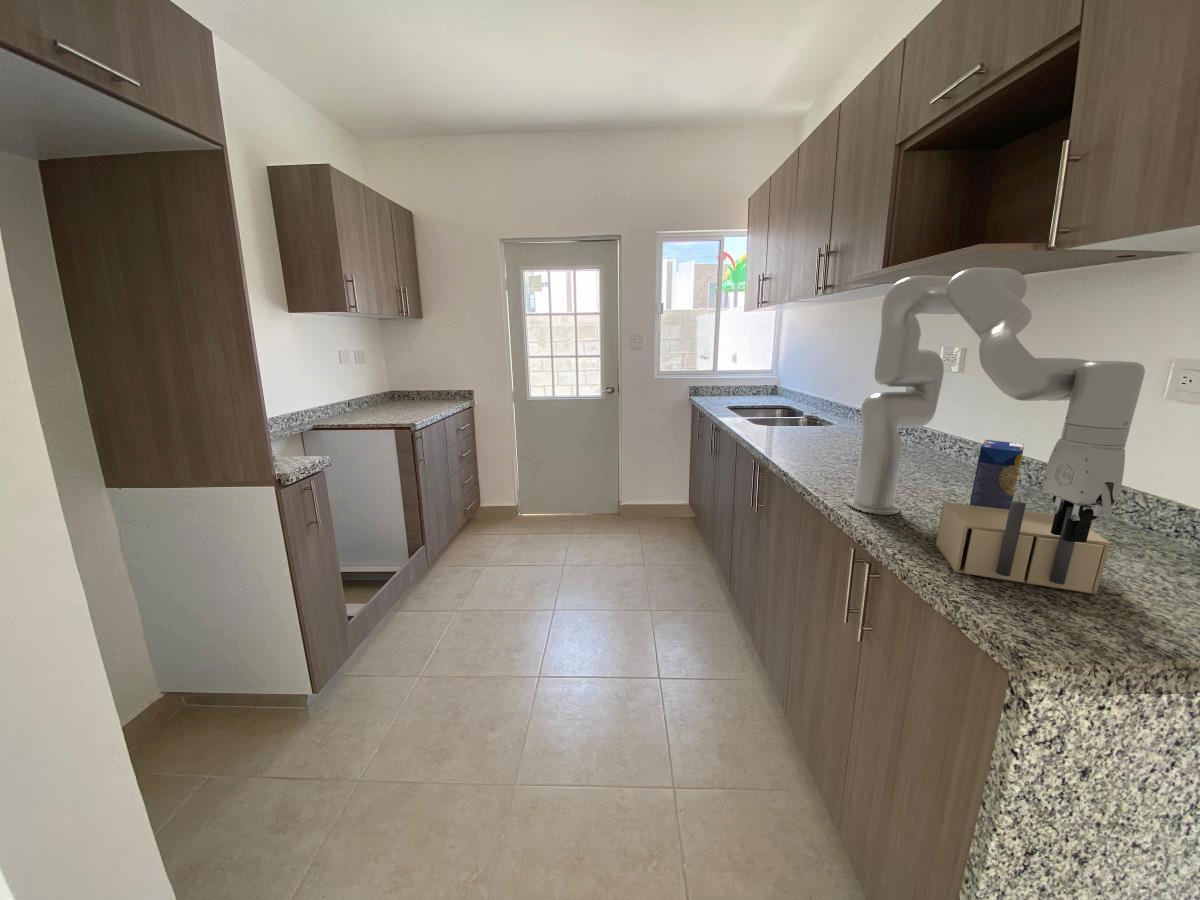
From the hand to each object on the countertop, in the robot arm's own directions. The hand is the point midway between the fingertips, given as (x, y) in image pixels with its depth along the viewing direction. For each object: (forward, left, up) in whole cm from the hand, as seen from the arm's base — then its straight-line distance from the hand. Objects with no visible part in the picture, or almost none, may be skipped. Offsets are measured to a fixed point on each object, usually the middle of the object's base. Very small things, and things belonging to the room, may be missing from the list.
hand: (1068, 537), depth 81 cm
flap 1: (0, -9, -10) cm, 13 cm away
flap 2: (0, +1, -10) cm, 10 cm away
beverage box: (-25, -3, -11) cm, 27 cm away
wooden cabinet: (-9, -4, -11) cm, 14 cm away
